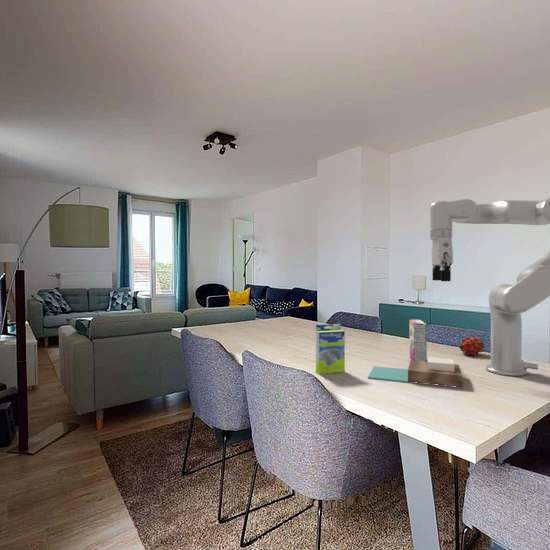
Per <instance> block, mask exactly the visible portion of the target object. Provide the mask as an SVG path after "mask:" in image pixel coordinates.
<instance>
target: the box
mask: <svg viewBox="0 0 550 550" xmlns="http://www.w3.org/2000/svg"><path fill="white" fill-rule="evenodd" d="M325 327H330V328H325ZM345 332H346V331H345V330H343V329H342V328H341V323H332V324H331V323H330V324H316V325H315V331H314V335H315V372H316V373H317V374H319V375H324V374H333V373H334V374H335V373H336V374H337V373H345V371H346V367H345V363H346V362H345V361H346V360H345V357H346V355H345V352H346V351H345V350H346V347H345V343H346V340H345V339H346V338H345V336H346V334H345Z"/></svg>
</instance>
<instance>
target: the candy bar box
mask: <svg viewBox="0 0 550 550" xmlns="http://www.w3.org/2000/svg"><path fill="white" fill-rule="evenodd" d="M408 324H409V325H408V326H409V359H410V360H411V361H423V362H428V356H427V350H428V349H427V323H426V322H424V321H423V320H422V319H409V323H408Z"/></svg>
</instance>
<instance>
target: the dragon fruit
mask: <svg viewBox="0 0 550 550" xmlns="http://www.w3.org/2000/svg"><path fill="white" fill-rule="evenodd" d="M484 348H485V344H484V341H482V339H481V338H480V337H477V338H475V337H474V336H471V337H465V338H464V339H462V340H461V341H460V345H459V349H460V351H461V352H462V355H464V354H465V355H466V356H470V355H473V356H475V357H476V356H477V355H479V353H483V352H485V349H484ZM465 355H464V356H465Z"/></svg>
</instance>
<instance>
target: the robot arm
mask: <svg viewBox="0 0 550 550" xmlns="http://www.w3.org/2000/svg"><path fill="white" fill-rule="evenodd" d="M429 214H430V215H429V223H430V224H429V226H430V227H429V228H430V229H429V232H430V233H429V235H430V236H429V240H431V243H432V244H431V264H432V265H431V266H432V268H431V270H432V281H441V282H451V280H452V278H451V276H452V272H451V270H452V267H451V266H452V265H453V264H454V253H453V250H454V248H453V242H452V241H453V240H452V239H453V223H456V224H469V225H470V224H471V225H482V224H483V225H487V224H488V225H489V224H490V225H527V226H545V225H550V197H548V198H547V199H543V200H521V199H519V200H518V199H517V200H514V199H505V200H500V201H495V202H489V203H483V204H482V203H480V204H479V203H478V204H477V203H476V201H474V200H472V199H469V198H463V199H457V200H452V201H449V200H441V201H435V202H432V203H431V204H430V207H429ZM549 297H550V248H549V249H548V251H547V252H546V253H545V254H544V255H543V256H542V257H541V258H539V259H538V260H536V261H535V262H533V263H532V264H530V265H528V266H527V267H525V268H523V269H522V270H521V271H520V272H519V274H518V275H517V277H516V283H514V284H508V283H507V284H506V283H503V284H498V285H497V286H495V287H493V288H492V289H491V291H490V292H489V295H488V305H489V313H490V314H489V315H490V363H489V364H486V365H485V369H486V371H488V372H491V373H493V374H497V375H503V376H512V377H516V376H517V377H519V376H520V377H521V376H526V375H527V374H528V371H527V370H528V369H530V370H539V369H538V368H539V364H537V363H532V362H525V361H524V360H523V359H522V358H523V356H522V355H523V353H522V350H523V348H522V347H523V346H522V342H523V341H522V340H523V339H522V338H523V335H522V334H523V332H522V331H523V321H522V313H525V312H527V311H530V310H531V309H533V308H535V307H536V306H537V305H538V304H541V303H542V302H544V301H545V300H546V299H548V298H549Z"/></svg>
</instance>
